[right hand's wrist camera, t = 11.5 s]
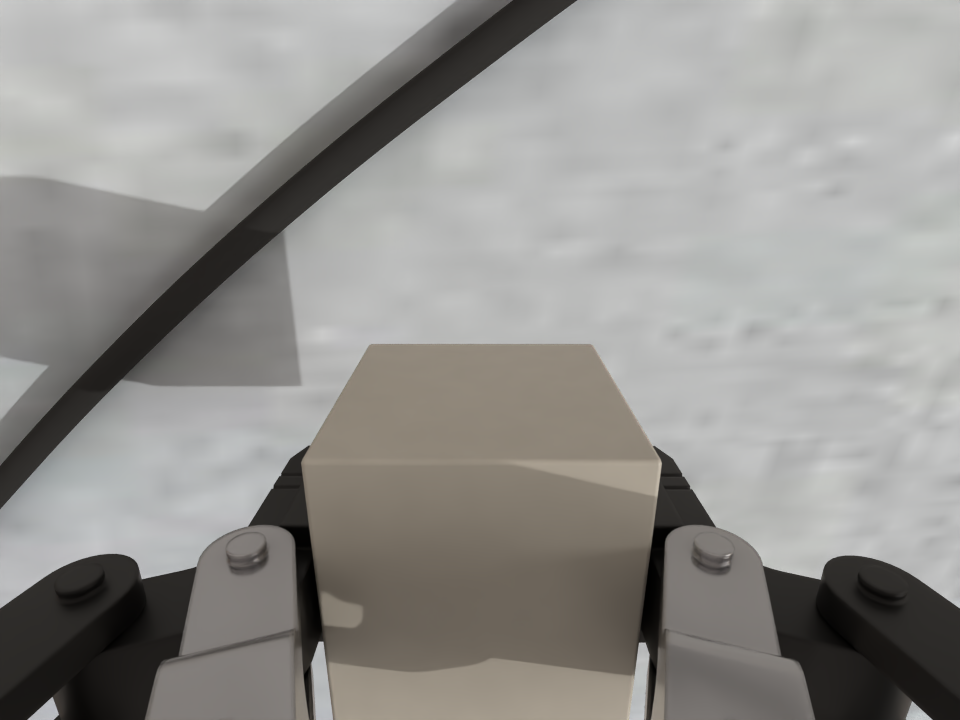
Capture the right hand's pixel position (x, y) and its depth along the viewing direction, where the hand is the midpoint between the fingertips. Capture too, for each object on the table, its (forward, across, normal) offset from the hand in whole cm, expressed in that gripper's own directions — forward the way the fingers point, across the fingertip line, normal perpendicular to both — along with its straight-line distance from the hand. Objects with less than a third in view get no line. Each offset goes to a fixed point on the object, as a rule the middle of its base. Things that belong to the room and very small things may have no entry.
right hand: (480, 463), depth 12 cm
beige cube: (+1, 0, 0) cm, 1 cm away
